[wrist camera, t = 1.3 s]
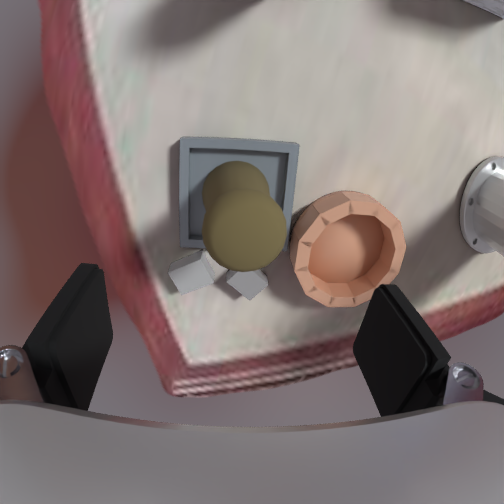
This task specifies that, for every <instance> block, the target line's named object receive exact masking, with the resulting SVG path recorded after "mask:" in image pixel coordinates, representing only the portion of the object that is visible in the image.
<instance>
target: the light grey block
mask: <svg viewBox="0 0 504 504" xmlns="http://www.w3.org/2000/svg"><path fill="white" fill-rule="evenodd" d="M168 274H169V276H170V278H171V279H172V281H173V282H174V284H175V286H176V287H177V289H178V290H179V292H180V294H181V295H184V294H186V293H189V292H191V291H194V290H197V289H199V288H202V287H204V286H207V285H210V284H212V283H214V276H215V272H214V270H213V268H212V266H211V265H210V263H209V261H208V259H207V257H206V255H205V254H204V252H203V250H201V251H198V252H196V253H194V254H191V255H189V256H187V257H184V258H182V259H179V260H177V261H175V262H172V263H171V265H170V268H169V271H168Z"/></svg>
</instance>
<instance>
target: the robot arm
mask: <svg viewBox="0 0 504 504" xmlns="http://www.w3.org/2000/svg"><path fill="white" fill-rule="evenodd" d="M460 226H461V231H462V234H463V237H464V239H465V241H466V242H467V243H468V244H469V246H470V247H472V248H473V249H474V250H476V251H478V252H480V253H491V252H494V251H497V252H498V253H500V254H501V255H502V256H504V157H502V156H494V157H490V158H488V159H486V160H485V161H483V162H482V163H481V164H480V165H479V166H478V167H477V168H476V169H475V171H474V172H473V173H472V175H471V177H470V179H469V180H468V182H467V185H466V187H465V190H464V193H463V197H462V201H461V207H460ZM112 339H113V330H112V325H111V319H110V313H109V307H108V300H107V293H106V286H105V280H104V272H103V270H102V269H99V267H98V265H97V264H87V263H81V264H80V265H79V266H78V267H77V269H76V270H75V271H74V273H73V274H72V275H71V277H70V278H69V279H68V281H67V282H66V283H65V285H64V286H63V287H62V289H61V290H60V292H59V293H58V294H57V296H56V297H55V299H54V300H53V301H52V303H51V304H50V306H49V307H48V309H47V310H46V311H45V313H44V314H43V316H42V317H41V319H40V320H39V322H38V323H37V325H36V327H35V328H34V329H33V331H32V333H31V334H30V336H29V337H28V339H27V340H26V342H25V344H24V346H23V347H22V348H21V347H18V346H15V345H8V346H2V347H0V504H504V399H502V398H500V397H498V396H496V395H493V394H491V393H489V392H487V391H485V390H483V387H484V386H483V385H484V383H483V379H482V376H481V375H480V373H479V372H478V371H477V370H476V369H475V368H474V367H472V366H470V365H469V364H466V363H462V362H457V363H454V364H453V365H451V366H450V367H449V366H448V364H447V363H448V362H449V360H450V358H451V357H450V355H449V354H448V352H447V351H446V349H445V348H444V347H443V345H442V344H441V342H440V341H439V340H438V338H437V337H436V336H435V334H434V333H433V332H432V330H431V329H430V328H429V326H428V325H427V324H426V322H425V321H424V320H423V318H422V317H421V316H420V314H419V313H418V312H417V311H416V309H415V308H414V307H413V305H412V304H411V303H410V302H409V300H408V299H407V298H406V297H405V295H404V294H403V293H402V292H401V290H400V289H399V288H398V287H397V286H396V285H393V284H381V285H380V286H379V287H378V288H376V289H375V290H374V292H373V295H372V297H371V300H370V303H369V306H368V308H367V311H366V314H365V316H364V319H363V322H362V324H361V327H360V329H359V332H358V334H357V337H356V339H355V342H354V345H353V353H354V355H355V358H356V360H357V362H358V364H359V367H360V369H361V371H362V373H363V376H364V378H365V380H366V382H367V385H368V387H369V389H370V392H371V394H372V396H373V399H374V401H375V403H376V406H377V408H378V410H379V413H380V415H381V417H377V418H371V419H364V420H356V421H348V422H339V423H328V424H317V425H303V426H285V427H284V426H283V427H219V426H198V425H185V424H174V423H163V422H155V421H147V420H139V419H132V418H126V417H119V416H113V415H107V414H101V413H95V412H90V411H88V408H89V405H90V402H91V399H92V396H93V393H94V390H95V387H96V384H97V381H98V378H99V376H100V373H101V370H102V367H103V364H104V362H105V359H106V356H107V354H108V351H109V348H110V346H111V343H112Z"/></svg>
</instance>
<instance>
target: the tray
mask: <svg viewBox="0 0 504 504" xmlns="http://www.w3.org/2000/svg"><path fill="white" fill-rule="evenodd" d="M298 154H299V144H297V143H293V142H283V141H271V140H257V139H241V138H218V137H182V138H180V166H179V220H180V247H190V248H206V247H205V245H204V243H203V237H202V225H203V220H204V215H205V213H206V210H205V207H204V204H203V198H202V189H203V184H204V181H205V180H206V178H207V176H208V174H209V173H210V172H211V171H212V170H213V169H215V168H216V167H217V166H219V165H221V164H223V163H225V162H230V161H242V162H247V163H250V164H252V165H253V166H255V167H257V168H258V169H259V170H260V171H261V172H262V173H263V174H264V176H265V178H266V180H267V182H268V185H269V192H270V196H271V197H272V198H273V199H274V201H275V202H276V203H277V204H278V205H279V206H280V208H281V209H282V211H283V214H284V216H285V219H286V226H287V236H286V240H285V243H284V247H283V249H282V250H281V251H287V247H288V239H289V231H290V223H291V215H292V207H293V199H294V190H295V181H296V172H297V163H298Z"/></svg>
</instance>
